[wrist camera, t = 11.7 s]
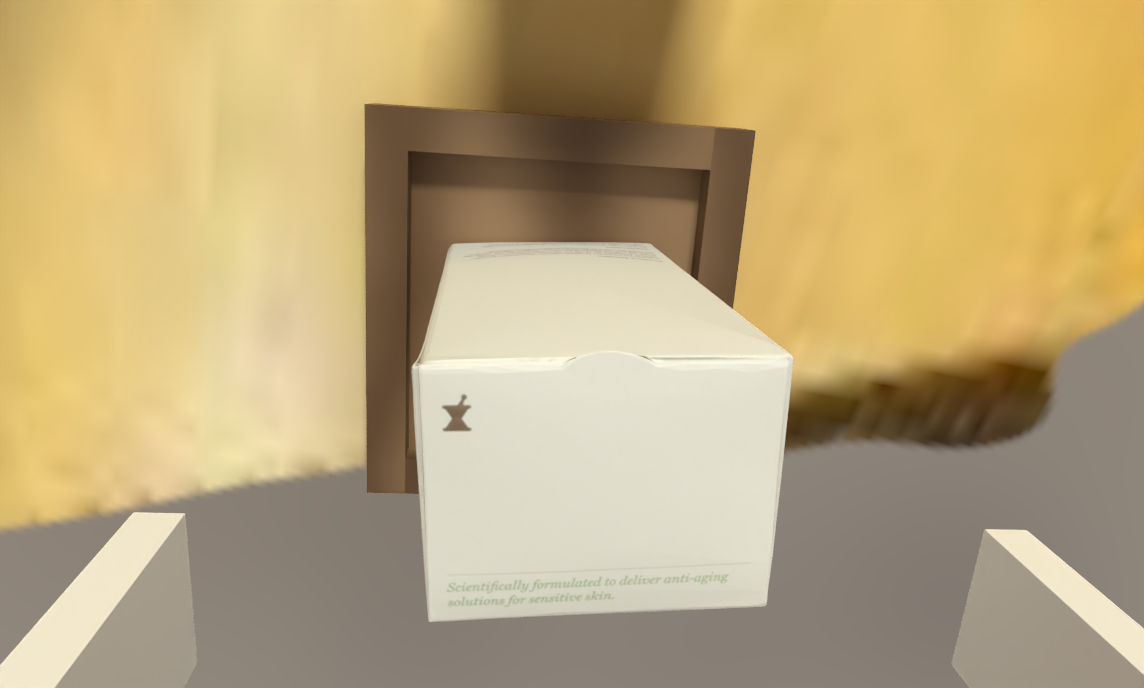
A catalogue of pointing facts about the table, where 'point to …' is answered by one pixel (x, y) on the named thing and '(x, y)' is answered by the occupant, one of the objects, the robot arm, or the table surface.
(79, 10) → the table surface
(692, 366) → the skincare box
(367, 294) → the brown wooden tray
